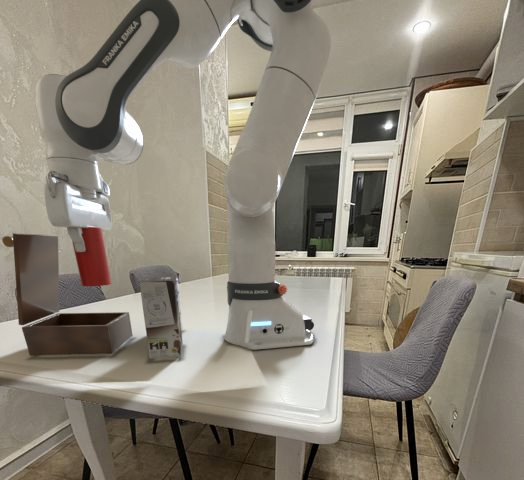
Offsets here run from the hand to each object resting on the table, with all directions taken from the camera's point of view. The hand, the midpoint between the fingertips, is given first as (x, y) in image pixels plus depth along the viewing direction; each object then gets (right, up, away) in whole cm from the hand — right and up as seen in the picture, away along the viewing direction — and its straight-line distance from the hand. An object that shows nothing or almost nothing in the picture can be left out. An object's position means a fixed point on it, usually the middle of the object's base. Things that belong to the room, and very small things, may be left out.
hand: (90, 251), depth 64 cm
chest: (-3, -21, +3) cm, 22 cm away
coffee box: (+17, -23, 0) cm, 28 cm away
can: (0, -7, +2) cm, 7 cm away
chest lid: (-9, -7, -3) cm, 11 cm away
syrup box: (+13, -18, +13) cm, 26 cm away
